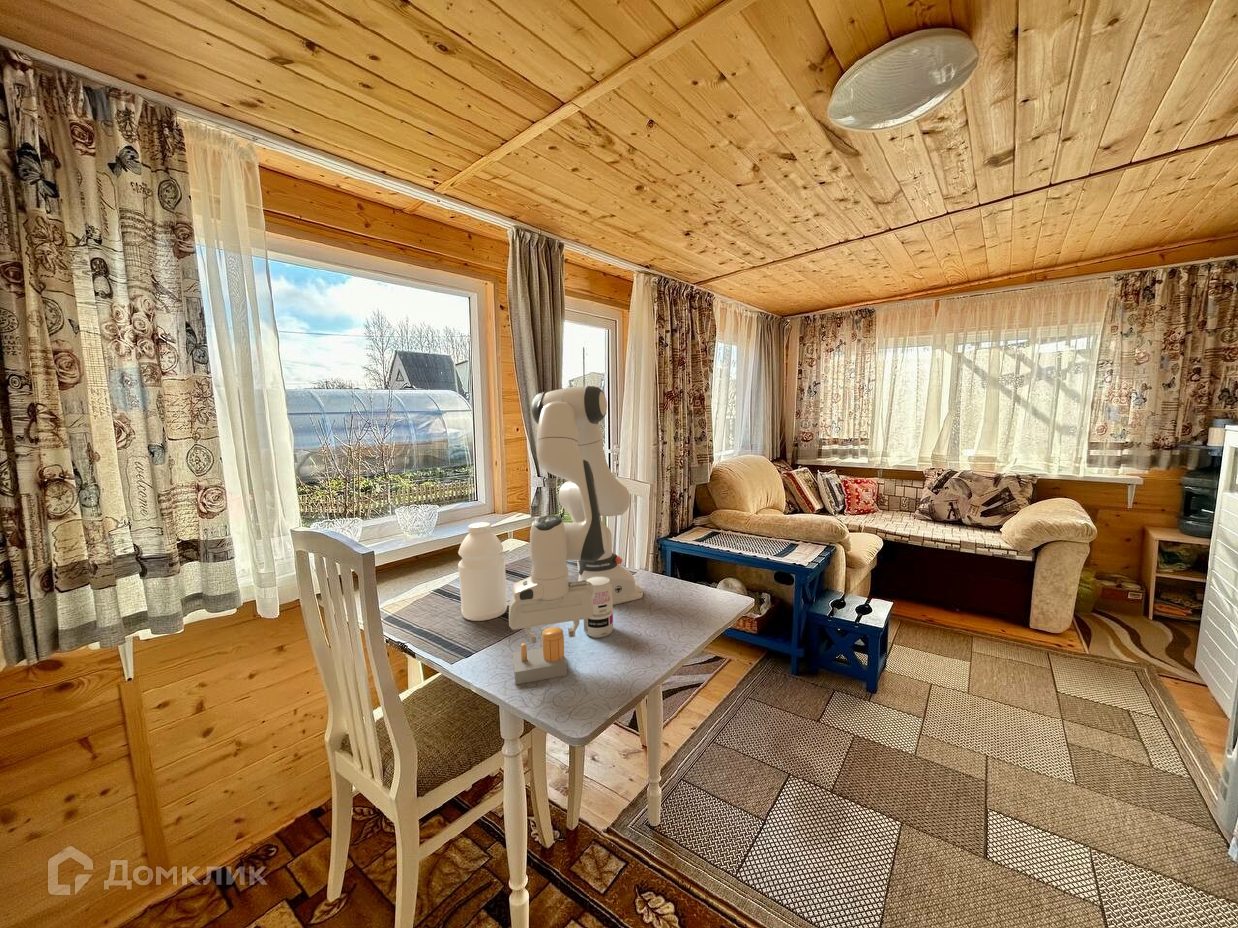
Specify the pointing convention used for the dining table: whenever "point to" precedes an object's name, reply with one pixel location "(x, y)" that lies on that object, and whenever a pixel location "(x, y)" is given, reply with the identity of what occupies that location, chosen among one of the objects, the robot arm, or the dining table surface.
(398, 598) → the dining table surface
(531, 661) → the pegged grey base
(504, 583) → the bottle
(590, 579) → the supplement can
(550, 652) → the wire nut cap
